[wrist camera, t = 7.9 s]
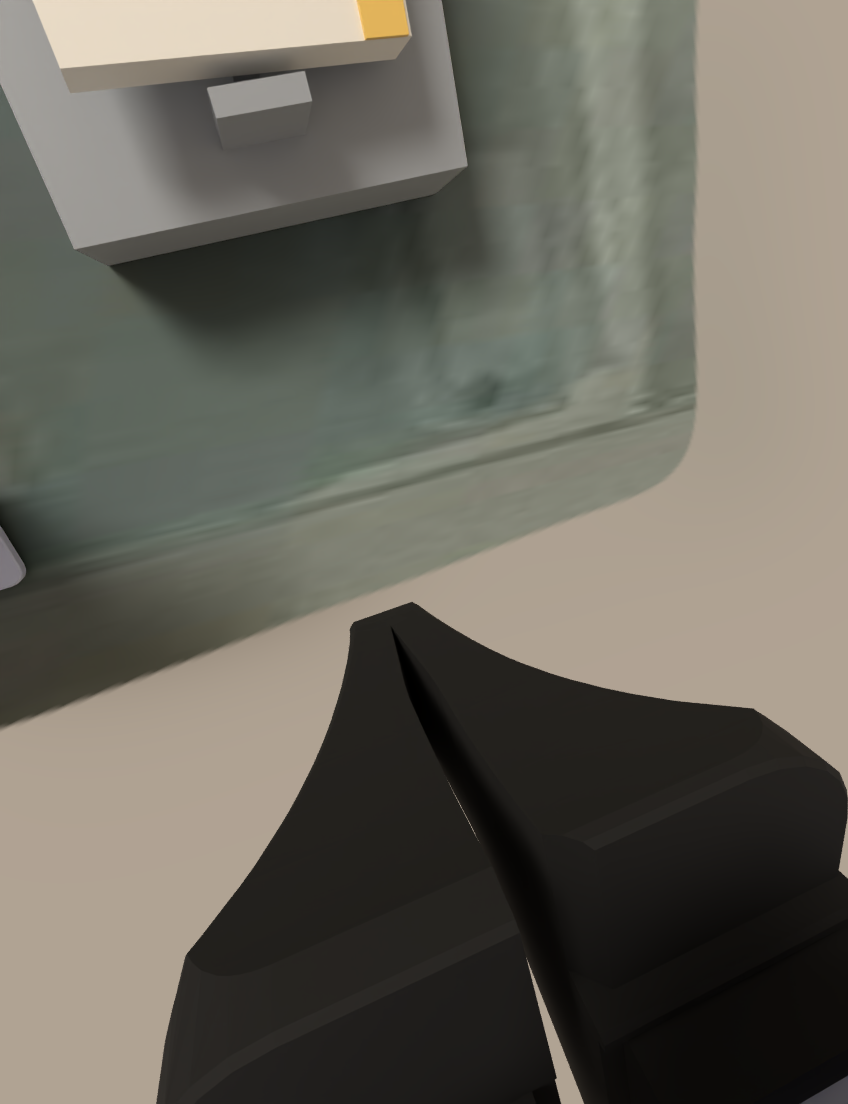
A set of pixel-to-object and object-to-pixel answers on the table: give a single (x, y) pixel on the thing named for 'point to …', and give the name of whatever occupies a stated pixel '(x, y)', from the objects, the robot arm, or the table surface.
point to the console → (232, 142)
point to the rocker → (214, 37)
